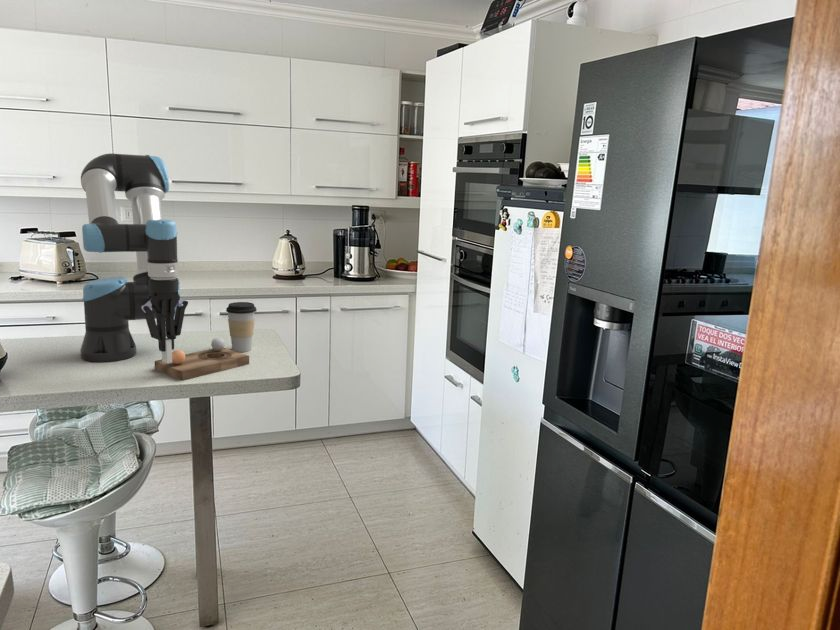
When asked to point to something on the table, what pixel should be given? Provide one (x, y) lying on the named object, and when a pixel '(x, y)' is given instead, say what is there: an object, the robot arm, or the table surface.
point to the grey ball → (218, 344)
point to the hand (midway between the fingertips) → (167, 361)
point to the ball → (178, 357)
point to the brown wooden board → (203, 363)
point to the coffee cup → (241, 325)
